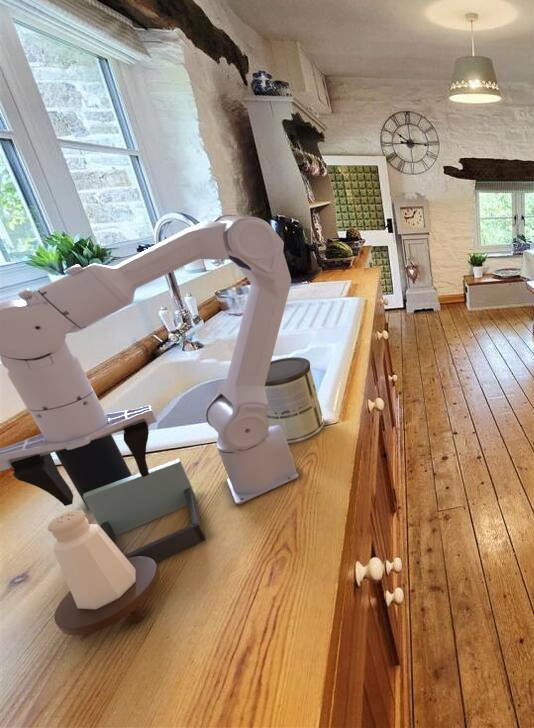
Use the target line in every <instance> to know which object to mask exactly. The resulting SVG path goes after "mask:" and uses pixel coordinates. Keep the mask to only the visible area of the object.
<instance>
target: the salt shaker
mask: <svg viewBox="0 0 534 728" xmlns="http://www.w3.org/2000/svg"><path fill="white" fill-rule="evenodd" d="M47 530H48V531H49V532H50V533H52V536H53V537H54V539H56V540H55V541H54V546H53V552H54V555H55V558H56V560H57V563H58V565H59V567H60V570H61V572H62V574H63V576H64V580H65V581H66V584H67V586H68V589H69V592H70V591H71V593H72V596H73V598H74V600H75V603H76V605H77V607H78V608H82V609H98V608H100V607H102V606H104V605H106V604H108V603H110V602H112V601H114V600H116V599H118V598H120V597H121V596H122V595H123V594H124V593H125V592H126V591H127V590H128V589H129V588H130V587H131V586H132V585H133V584H134V583H135V581H136V569H135V568H134V567H133V565H132V564H131V563H130V562H129V561H128V560H127V558H126V557H125V556H124V555H125V554H124V553H123V552H122V551H121V550H120V549H119V547H118V546H117V544H116V545H115V544H114V543H113V542H112V540H111V539H110V538H109V537H108V536H107V534H106V533H105V532H104V531H103V530H102V528H101V527H100V526H99V525H98V523H97V524H95V523H89V520H88V518H87V517H86V513H85V512H84V511H83V510H81V509H75V510H74V509H73V510H70V511H67V512H65V513H62V514H61V515H58V516H57V517H55V518H54V519H52V520H51V521H50V523H49V524H48V526H47Z"/></svg>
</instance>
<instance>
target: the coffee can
mask: <svg viewBox="0 0 534 728" xmlns="http://www.w3.org/2000/svg"><path fill="white" fill-rule="evenodd" d="M264 388H265V392H266V396H267V400H268V408H267V419H268V422H269V427H270V426H275V425H279V426H280V427H281V428H282V430H283V432H284V435H285V437H286V439H287V442H288V445H289V444H294V443H300V442H303V441H305V440H308V439H310V438H312V437H314V436H315V435H316V434H318V433H320V431H321V430H322V429H323V428H324V426H325V419H324V418H323V422H322V416H323V412H322V409H321V405H320V400H319V397H318V392H317V389H316V385H315V381H314V378H313V373H312V370H311V362H310V361H309V359H307V358H304V357H298V356H297V357H296V356H295V357H291V356H290V357H284V358H279V359H275V360H271V363H270V367H269V371H268V375H267V378H266V382H265V386H264Z"/></svg>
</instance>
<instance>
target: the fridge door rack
mask: <svg viewBox="0 0 534 728" xmlns="http://www.w3.org/2000/svg"><path fill="white" fill-rule="evenodd" d="M148 471H149V475H148V476H145V477H142V476H141V474H140V472H138V473H136V474H132V476H130V477H127V478H125V479H122V480H119V481H116V482H114V483H111V484H108V485H106V486H103V487H100V488H97V489H95V490H92V491H89V492H87V493H84V495H83V499H84V500H85V502H86V504H87V506H88V507H89V508H88V509H89V511H90V513H91V514H92V516H93V518H94V519H95V521H96V523H97V524H98V525H99V526H100V527H101V528H102V530H103V531H104V532H105V533H106V534H107V536H108V537H109V538H110V539H111V540H112V542H113V543H114V544H115V545H116V546H117V537H118V536H120V535H122V534H124V533H127V532H130V531H131V530H134V529H136V528H138V527H141V526H144V525H146V524H148V523H150V522H152V521H155V520H157V519H159V518H162V517H164V516H167V515H169V514H171V513H173V512H176V511H179V510H181V509H183V508H185V507H187V511H188V516H189V520H190V522H191V524H190V525H187V526H185V527H182V528H181V529H178V530H176V531H173V532H172V533H170V534H168V535H165V536H162V537H161V538H159V539H157V540H154V541H151V542H150V543H148V544H145V545H143V546H140V547H138V548H137V549H134V550H132V551H130V552H127V553H125V554H123V555H124V556H125V557H126V558H131V557H138V556H143V557H149V558H151V559H153V560H154V561H155V563H156V564H158V563H160V562H162V561H164V560H166V559H169V558H171V557H172V556H174V555H176V554H179V553H181V552H183V551H185V550H188V549H189V548H191V547H193V546H195V545H196V546H197V544H200V543H202V542H204V541H206V535H205V531H204V527H203V525H202V520H201V516H200V515H201V514H200V511H199V508H198V504H197V502H198V498H197V495H196V493H195V491H194V488H193V486H192V484H191V481H190V478H189V477H188V473H187V472H186V470H185V467H184V465H183V464H182V461H181V458H176V459H174V460H171V461H168V462H165V463H163V464H160V465H158V466H155V467H152V468H148ZM87 506H86V507H87Z"/></svg>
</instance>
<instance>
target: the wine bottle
mask: <svg viewBox="0 0 534 728" xmlns="http://www.w3.org/2000/svg"><path fill="white" fill-rule="evenodd" d="M54 453H55V455H56V457H57V458H58V461H59V462H60V464H61V465H62V467H63V469H64V471H65V472H66V474H67V476H68V477H69V480H70V481H71V482H72V485H73V486H74V488H75V490H76V491H77V493H78V495H79V496H80V499H81V500H82V502H83V504H84V505H85V507H86V508H87V509H89V507H88V506H87V504H86V502H85V500H84V499H83V495H84V493H87V492H89V491H92V490H95V489H97V488H100V487H103V486H106V485H108V484H111V483H114V482H116V481H119V480H122V479H125V478H127V477H130V476H133V474H132V472H131V471H130V468H129V466H128V464H127V463H126V460H125V458H124V456H123V454H122V452H121V451H120V448H119V446H118V445H117V443H116V441H115V439H114V436H113V434H110V435H107V436H104V437H101V438H97V439H94V440H91V441H90V443H88V444H87V445H84V446H81V447H78V448H74V449H71V450H67V449H66V448H65V449H62V450H59V451H56V452H54Z"/></svg>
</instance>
